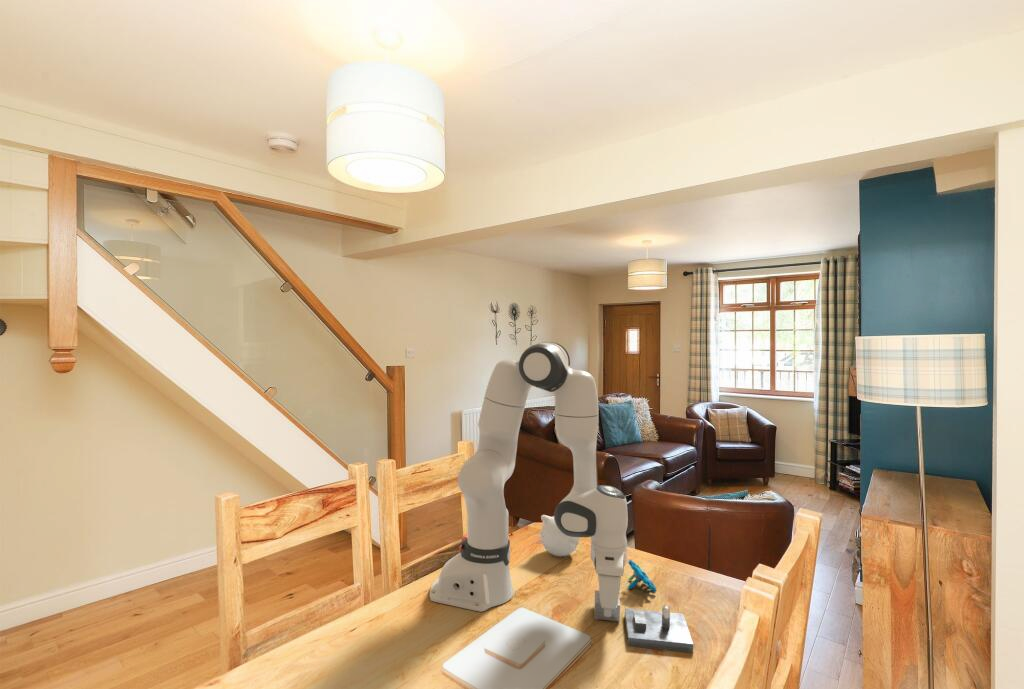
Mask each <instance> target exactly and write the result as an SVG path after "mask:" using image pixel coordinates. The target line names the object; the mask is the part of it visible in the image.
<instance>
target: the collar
mask: <svg viewBox="0 0 1024 689" xmlns="http://www.w3.org/2000/svg"><path fill="white" fill-rule="evenodd" d="M593 605H594V610H593V612H594V614H593V615H594V620H602V621H611V622H620V621H621V620H620V616H621V612H620V611H621V603H620V597H619V598H618V605H617V608H616V609H615V610H613V609H612V613H611V617H605V616H604V608H602V607H601V603H600V592H599V590H597V589H596V590H594V603H593Z"/></svg>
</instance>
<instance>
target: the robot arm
mask: <svg viewBox="0 0 1024 689" xmlns="http://www.w3.org/2000/svg"><path fill="white" fill-rule="evenodd" d="M570 364H571V359H570V355H569V353H568V351H567V349H566V348H565V347H564V346H562V345H561V344H559V343H557V342H553V341H552V342H551V341H549V342H548V341H544V342H538V343H536V344H533V345H530V346H529V347H527V348H526V349H525V350H524V351H523V353H522V354H521V356H520V358H519V360H516V359H513V358H512V359H511V358H507V359H503V360H502V359H501V360H500V361H498V362H497V363H496V365H495V366H494V368H493V371H492V373H491V375H490V378H489V379H488V380H489V381H488V383H487V386H486V389H485V393H484V397H483V398H484V399H483V402H482V406H481V411H480V415H479V418H478V424H477V425H478V432H479V434H478V446H477V449H476V452H475V453H474V454H473V455H472V456H471V457H469V458H467V459H466V461H465V462H464V463H463V464H462V466H461V468H460V470H459V472H458V475H457V485H458V488H459V490H460V492H461V493H462V494H463V497H464V502H465V507H466V508H465V509H466V515H467V516H466V518H467V523H466V524H467V525H466V527H467V530H466V532H467V534H466V533H465V534H464V535H463V536H462V538H461V542H460V544H459V546H458V547H459V549H458V550H459V552H458V553H457V554H456V555H455V556H453V557H451V558H450V559H449V560H447V561H446V562H445V564H444V565H443V567H441V571H440V574H439V576H438V577H437V578H436V579H435V581H434V582H433V583H432V585H431V586H430V589H429V599H430V601H431V602H434V603H439V604H444V605H449V606H453V607H458V608H462V609H466V610H471V611H475V612H480V613H481V612H486V611H487V610H488V609H489V610H490V608H493V607H496V606H500V605H503V604H504V603H505V604H506V603H508V601H510V600H511V599H512V598H513V597H514V594H515V591H514V587H513V582H512V578H511V571H510V561H511V543H510V539H509V510H508V508H507V507H506V502H505V497H504V496H505V495H504V487H505V484H506V482H507V481H508V480H509V479H510V478H511V476H512V475H513V473H514V470H515V467H516V458H517V450H518V442H519V441H518V440H519V439H518V438H519V434H520V433H519V432H520V428H521V424H522V420H523V417H524V411H525V407H526V404H527V398H528V395H529V393H530V390H531V388H532V387H533V388H534V387H535V388H537V389H541V390H543V391H547V392H548V393H553V396H554V424H555V426H554V428H555V431H556V432H555V433H556V437H557V439H558V441H559V442H560V443H561V444H562V445H563V446H565V447H566V448H568V449H569V450H570V451H571V454H572V459H573V463H572V464H573V485H572V487H571V489H570V492H569V493H568V494H567V495H566V496H565V497H564V498H563V499H561V501H560V502H559V503H558V504H557V505H556V506H555V509H554V513H553V516H554V520H555V523H556V525H557V527H558V529H559V530H560V531H561V532H562V533H564V534H565V535H567V536H570V537H579V538H590V560H591V561H592V563H593V565H594V570H595V574H597V579H598V591H599V592H600V603H601V607H602V608H604V616H605V617H611V613H612V609H613V610H615V609H616V608H617V605H618V598H619V599H620V589H621V588H620V587H621V578H622V577H623V576H624V573H625V572H624V571H625V566H626V563H627V560H628V559H627V557H628V555H627V552H628V538H627V534H626V532H627V529H628V522H629V517H628V515H629V514H628V502H627V497H626V496H625V494H624V493H623V492H622V491H621V490H620V489H619V488H617V487H614V486H612V485H606V484H605V485H603V484H602V485H601V484H600V485H599V481H598V479H599V478H598V463H597V462H598V461H597V460H598V459H597V457H598V456H597V442H598V440H597V439H598V431H599V417H600V416H599V408H600V406H599V396H598V395H599V394H598V388H597V385H596V384H597V383H596V380H595V377H594V376H593V375H592V374H591V373H590V372H588V371H585V370H583V369H574V368H571V367H570V366H571V365H570Z"/></svg>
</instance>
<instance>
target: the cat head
mask: <svg viewBox="0 0 1024 689" xmlns="http://www.w3.org/2000/svg"><path fill="white" fill-rule="evenodd" d="M540 519H541V521H542V526H541V530H540V531H539V532H536V533H535V535H537V534H538V535H540V536H535V537H534V538H536V539H540V540H541V541H537V542H534V543H533V545H536V544H537V545H538V544H541V545H542V546H543V548H544V549H545V550H546V551H547V552H548V553H549V554H551V555H553V556H555V557H566V556H569V555H571V554H572V553H574V551H576V552H578V550H577V547H578V545H579V541H580V537H570V536H567V535H565V534H564V533H562V532H561V531H560V530H559V529H558V527H557V525H556V523H555V520H554V515H553V516H550V515H546V514H542V515H541V516H540Z"/></svg>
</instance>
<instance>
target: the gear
mask: <svg viewBox="0 0 1024 689" xmlns="http://www.w3.org/2000/svg"><path fill="white" fill-rule="evenodd" d="M628 564H629V566H630V568H631V569H632V570H633V573H632V575H631V576H630V577H629V578H627V580H628V581H629V582H631V583H630V584H629V585H628V589H630V590H632V589H633V588H634V587H635V586H636V585H637V584H639V583H641V582H642V583H643V584H644V585H646V586H647V587H648V588H649V590H651V591H652V592H653V593H655V592H656V591H657V587H656V586H655V585H654V583H653V581H652V580H650V579H649V576H648V575H647V574H646V572H645V571H644V570H643V569H642V568H641V567H640V566H639V565H638V564H636V563H635V561H633V559H629V560H628ZM634 578H635V579H634ZM633 579H634V580H633ZM632 580H633V581H632Z"/></svg>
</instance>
